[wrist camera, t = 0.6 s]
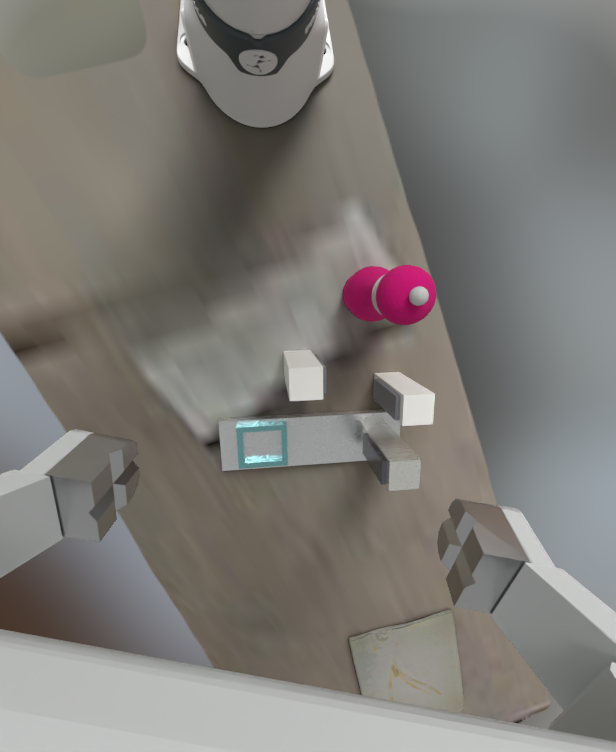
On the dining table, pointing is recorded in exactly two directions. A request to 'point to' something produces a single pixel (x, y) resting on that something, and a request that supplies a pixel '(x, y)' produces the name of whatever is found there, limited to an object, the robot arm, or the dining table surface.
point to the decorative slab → (411, 663)
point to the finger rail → (321, 443)
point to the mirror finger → (404, 399)
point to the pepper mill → (390, 294)
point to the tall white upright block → (304, 375)
